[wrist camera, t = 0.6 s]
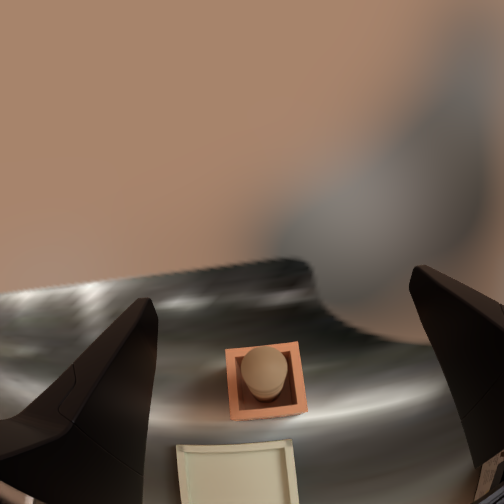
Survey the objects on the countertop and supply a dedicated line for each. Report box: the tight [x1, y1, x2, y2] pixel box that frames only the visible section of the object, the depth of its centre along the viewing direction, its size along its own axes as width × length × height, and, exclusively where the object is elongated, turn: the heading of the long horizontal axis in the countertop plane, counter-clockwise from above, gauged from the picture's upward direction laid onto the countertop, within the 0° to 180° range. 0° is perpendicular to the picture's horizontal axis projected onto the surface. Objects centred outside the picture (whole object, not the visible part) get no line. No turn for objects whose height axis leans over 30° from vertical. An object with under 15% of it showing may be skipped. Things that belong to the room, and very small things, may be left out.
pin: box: [241, 346, 287, 403], centre depth 18 cm, size 2×2×9 cm
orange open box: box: [225, 342, 308, 421], centre depth 20 cm, size 5×5×5 cm
